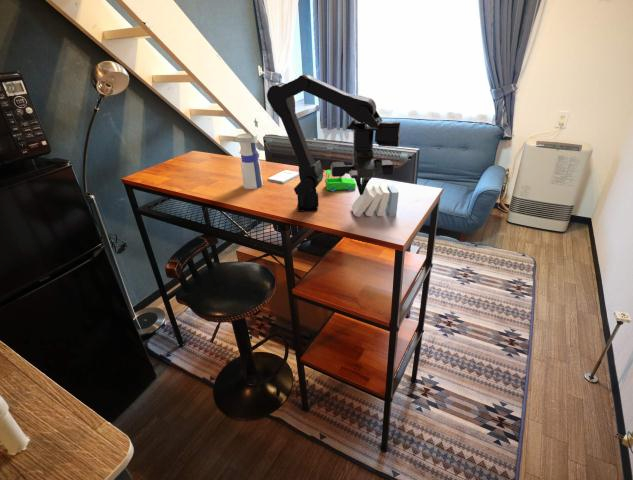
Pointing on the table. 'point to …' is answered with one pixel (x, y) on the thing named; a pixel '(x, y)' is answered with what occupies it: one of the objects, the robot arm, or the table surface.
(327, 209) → the table surface
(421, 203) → the table surface
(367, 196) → the tile
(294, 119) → the robot arm
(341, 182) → the toy car
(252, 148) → the water bottle
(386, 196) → the tile
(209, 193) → the table surface
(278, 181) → the external hard drive
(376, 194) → the tile
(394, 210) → the tile
